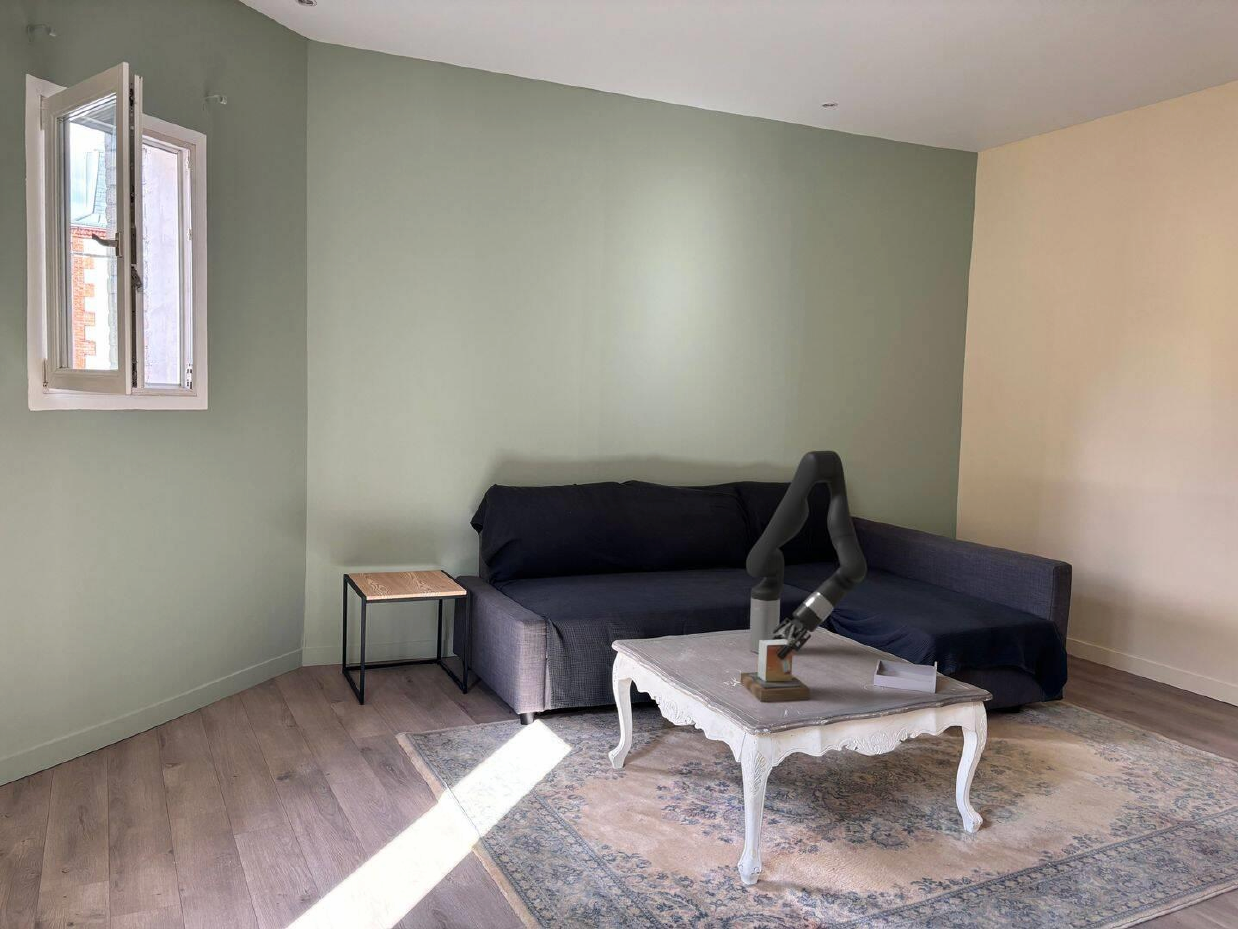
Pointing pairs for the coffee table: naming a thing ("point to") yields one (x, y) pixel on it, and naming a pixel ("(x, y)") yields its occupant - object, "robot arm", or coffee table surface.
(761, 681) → the plinth
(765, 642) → the small box
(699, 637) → the coffee table surface
